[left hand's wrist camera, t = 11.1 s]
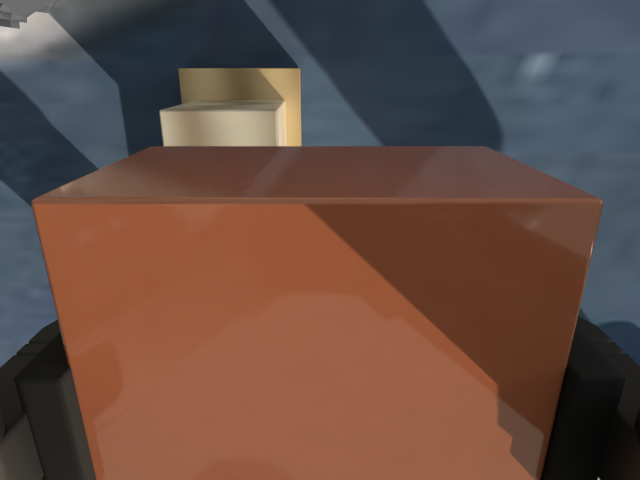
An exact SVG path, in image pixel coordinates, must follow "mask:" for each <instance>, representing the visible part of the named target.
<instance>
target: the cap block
mask: <svg viewBox="0 0 640 480" xmlns="http://www.w3.org/2000/svg"><path fill="white" fill-rule="evenodd" d="M31 206H32V210H33V214H34V219H35V223H36V227H37V232H38V236H39V240H40V245H41V249H42V254H43V258H44V262H45V267H46V271H47V275H48V280H49V284H50V288H51V293H52V297H53V301H54V306H55V310H56V314H57V319H58V323H59V327H60V332H61V336H62V340H63V345H64V349H65V353H66V358H67V362H68V366H70V367H71V372H72V376H73V380H74V385H75V389H76V393H77V398H78V402H79V407H80V411H81V415H82V420H83V424H84V428H85V433H86V437H87V442H88V446H89V450H90V455H91V459H92V463H93V468H94V472H95V477H96V480H541V478H542V473H543V469H544V464H545V460H546V455H547V451H548V447H549V442H550V438H551V433H552V429H553V424H554V420H555V416H556V411H557V407H558V402H559V398H560V393H561V389H562V385H563V380H564V376H565V371H566V367H567V362H568V358H569V354H570V349H571V345H572V340H573V336H574V331H575V327H576V323H577V318H578V314H579V309H580V305H581V300H582V296H583V292H584V287H585V283H586V278H587V274H588V269H589V265H590V261H591V256H592V252H593V247H594V243H595V238H596V234H597V230H598V225H599V221H600V216H601V212H602V207H603V201H602V199H600V198H597V197H595V196H593V195H591V194H589V193H587V192H584V191H582V190H580V189H578V188H576V187H573V186H571V185H569V184H567V183H565V182H563V181H560V180H558V179H556V178H554V177H552V176H550V175H547V174H545V173H543V172H541V171H539V170H536V169H534V168H532V167H530V166H528V165H526V164H523V163H521V162H519V161H517V160H515V159H512V158H510V157H508V156H506V155H504V154H502V153H499V152H497V151H495V150H493V149H491V148H488V147H486V146H151V147H149V148H146V149H144V150H142V151H140V152H137V153H135V154H133V155H131V156H128V157H126V158H124V159H122V160H119V161H117V162H115V163H113V164H110V165H108V166H106V167H104V168H101V169H99V170H97V171H95V172H93V173H90V174H88V175H86V176H84V177H81V178H79V179H77V180H75V181H72V182H70V183H68V184H66V185H63V186H61V187H59V188H57V189H54V190H52V191H50V192H48V193H45V194H43V195H41V196H39V197H37V198H34V199H33V200H32V202H31Z"/></svg>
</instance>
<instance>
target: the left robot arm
mask: <svg viewBox="0 0 640 480" xmlns="http://www.w3.org/2000/svg"><path fill="white" fill-rule="evenodd" d="M598 477H599V478H600V480H640V366H639V365H638V364H637V363H636V362H635V361H634V360H633V359H632V358H630V357H629V356H628V355H627V354H624V353H623V350H622V349H621V348H620V347H619V346H618V345H616V344H615V343H614V342H611V339H610V338H609V337H608V336H607V335H606V334H605V333H604V332H602V331H601V330H600V329H599V328H598V327H597V326H596V325H594V324H592V323H590V322H588V321H586V320H585V319H583V318H581V317H579V316H578V318H577V323H576V327H575V331H574V336H573V340H572V345H571V349H570V354H569V358H568V362H567V367H566V371H565V376H564V380H563V385H562V389H561V393H560V398H559V402H558V407H557V411H556V416H555V420H554V424H553V429H552V433H551V438H550V442H549V447H548V451H547V455H546V460H545V464H544V469H543V473H542V478H541V480H597V479H598ZM41 479H42V480H96V477H95V472H94V468H93V463H92V459H91V455H90V450H89V446H88V442H87V437H86V433H85V428H84V424H83V420H82V415H81V411H80V407H79V402H78V398H77V393H76V389H75V385H74V380H73V376H72V372H71V367H70V366H68V362H67V358H66V353H65V349H64V345H63V340H62V336H61V332H60V327H59V323H58V320H57V321H55V322H53V323H51V324H49V325H47V326H46V327H44V328H43V329H42V330H40V331H39V332H38V333H37V334H36V335H35V336H34V337H33V338H32V339H31V340H30V341H29V344H25V345H24V346H23V347H22V348H21V349H20V350H19V351H18V352H17V355H16V356H13V357H12V358H10V359H9V360H8V361H7V362H6V363H5V364H4V365H3V366H2V367H1V368H0V480H41Z"/></svg>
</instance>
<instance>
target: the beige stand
mask: <svg viewBox="0 0 640 480" xmlns="http://www.w3.org/2000/svg"><path fill="white" fill-rule="evenodd" d="M178 73H179V82H180V92H181V101H182V104H181V105H177V106H174V107H170V108H166V109H162V110H160V111H159V114H160V122H161V130H162V138H163V146H302V144H301V82H300V68H178Z"/></svg>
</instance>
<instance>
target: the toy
mask: <svg viewBox="0 0 640 480" xmlns="http://www.w3.org/2000/svg"><path fill="white" fill-rule="evenodd" d="M55 2H57V3H59V0H0V26H4V27H11V28H18V29H20V27H19V22H25V23H27V17H28V16H30V15H31V14H33V13H34V12H36V11H37V12H44V13H47V12H48V11H49V10H50V9H51V8H53V5H54V3H55Z"/></svg>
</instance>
